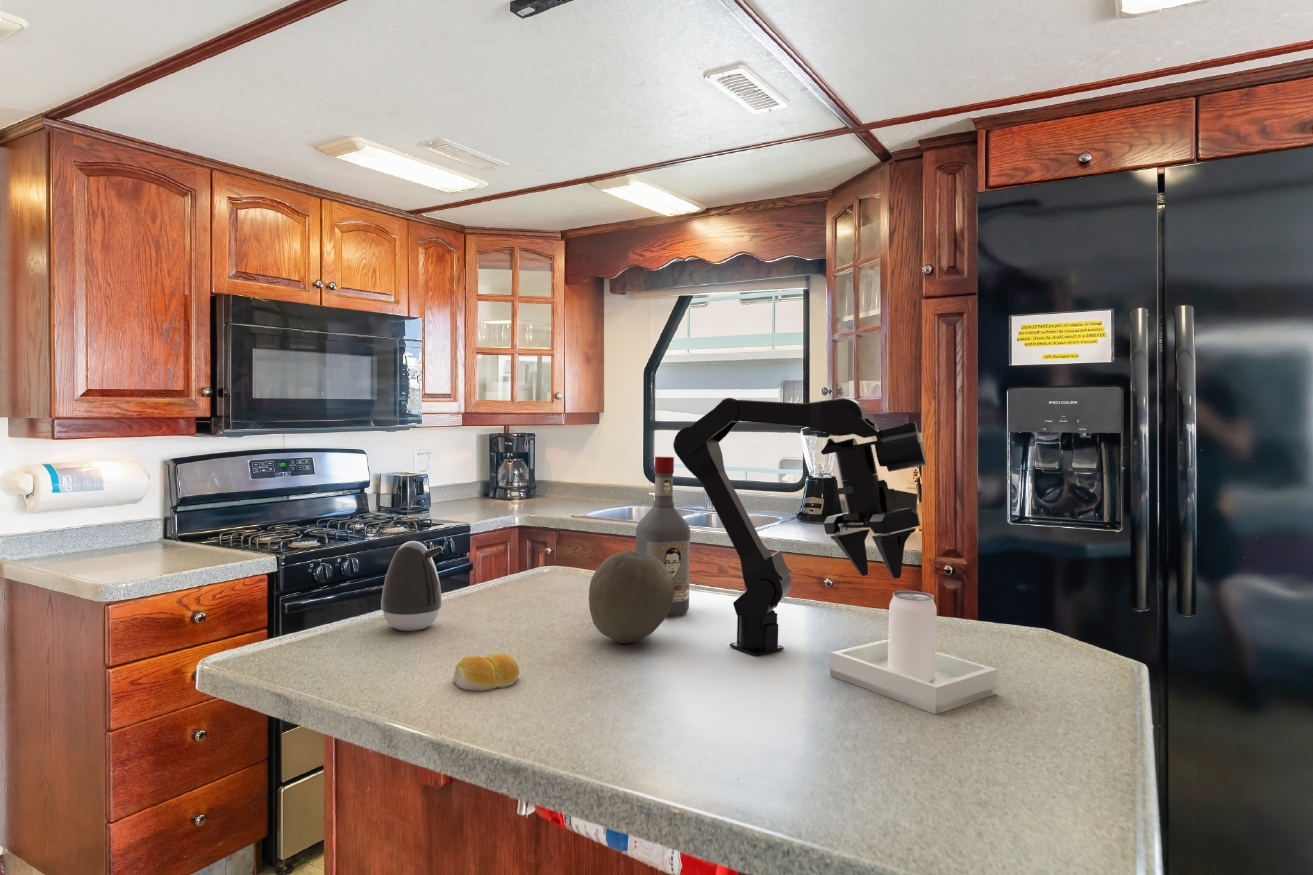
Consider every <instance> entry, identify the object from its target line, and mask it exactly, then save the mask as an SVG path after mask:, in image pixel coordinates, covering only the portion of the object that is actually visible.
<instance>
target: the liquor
mask: <svg viewBox="0 0 1313 875" xmlns="http://www.w3.org/2000/svg"><path fill="white" fill-rule="evenodd" d="M674 470H675V457H674V456H654V474H655V478H654V479H655V480H654V500H653V503H652V505H653V506H652V507H651V508H650V509H649V511H648V512H646V514H645V515H644V516H643V517H642V518H641V519H640V520H639V521H638V523H637V526H636V528H635V552H641V553H647V554H650V555H652V556H654V557H656V558H657V559H658V560H660V561H661V562H662V563H663V564H664V565H665V567H666V568H667V569H668V571H669V573H670V574H671V577H672V579H673V583H674V598H673V602H672V605H671V608H670V610H669V613H668V615H667V616H666V618H673V617H683V616H685V615H686V614H687V613H688V611H689V609H690V573H691V572H690V570H691V569H690V568H691V566H690V565H691V529H690V525H689V523H688V522H687V521H686V519H684V518H683V516H682V515H681V514H680V512H679V511H678V510H677V509H676V507H675V503H674V498H673V497H674V494H673V493H674V491H673V490H674V489H673V487H674V486H673V485H674V481H673V480H674V479H673V478H674V475H673V474H674V472H675V471H674Z"/></svg>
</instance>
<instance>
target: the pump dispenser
mask: <svg viewBox="0 0 1313 875" xmlns="http://www.w3.org/2000/svg"><path fill="white" fill-rule="evenodd" d="M443 550H444V549H443V547H442V546H440V545H439V546H436V547H433V548H430V549H428V548H427V547H426V546H425V545H424V544H423V543H421V542H420V541H416V540H411V541H407V542H405V543H403V544H401V545H400V546H399V547H398V549H397V550H396V551H395V553H394V554H393V557H392V559H391V562H390V564H389V565H388V566H389V567H388V569H387V572H386V574H385V578H384V581H383V582H384V584H383V587H382V595H381V601H380V607H381V608H380V609H381V611H383V616H384V618H385V621H386V623H388V624H389V625H390V627H392V628H394V629H395V630H398V631H403V632H415V631H421V630H423V629H424V630H425V629H427V628H428V627H429V626H431V625H432V624H434V622H435V621H436V619H437V617H438V616H439V612H440V609H441V607H442V604H443V598H442V590H441V589H442V587H441V582H440V577H439V574H438V571H437V567H436V564H435V561H434V560H433V557H434V556H436V555H438V554H440V553H443Z"/></svg>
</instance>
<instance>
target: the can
mask: <svg viewBox="0 0 1313 875" xmlns="http://www.w3.org/2000/svg"><path fill="white" fill-rule="evenodd" d="M934 598H935V596H934V595H933V594H931V593H928V592H924V591H918V590H917V591H916V590H898V591H894V592H892V598H891V600H890V602H889V605H888V606H889V608H888V609H889V611H888V636H887V637H888V638H887V639H888V669H890V670H893V671H896V672H899V673H902V674H905V675H908V676H911V677H914V678H917V679H920V680H924V681H927V682H930V683H931V682H932V680H934V678H935V652H936V650H937V648H936V647H937V645H936V644H937V641H936V640H937V606H936V603H935V601H934Z"/></svg>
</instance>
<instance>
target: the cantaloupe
mask: <svg viewBox="0 0 1313 875" xmlns="http://www.w3.org/2000/svg"><path fill="white" fill-rule="evenodd" d="M673 598H674V583H673V579H672V577H671V574H670V573H669V571H668V569H667V568H666V567H665V565H664V564H663V563H662V562H661V561H660V560H658V559H657V558H656V557H654V556H652V555H650V554H647V553H641V552H636V550H624V551H620V552H617V553H615V554H612V555H610V556H609V557H607V558H605V559H604V560H603V561H602V562H601V563H600V565H599V566H598V567H597V569H595V572H594V573H593V575H592V577H591V579H590V583H589V589H588V604H589V605H588V606H589V607H588V608H589V612H590V616H591V619H592V623H593V625H594V626H595V628H596V629H597V631H599V632H600V633H601V635H603V636H605V637H607V638H608V639H611V640H613V641H615V642H616V643H619V644H629V643H635V642H638V641H641V640H644V639H645V638H646V637H648V636H649V635H651V634H652V633H654V631H656V630H657V629H658V628H659V626H661V624H662V623H663V622H664V621H665V619H666V618H667V617H666V616H667V615H668V613H669V610H670V608H671V605H672V602H673Z"/></svg>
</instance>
